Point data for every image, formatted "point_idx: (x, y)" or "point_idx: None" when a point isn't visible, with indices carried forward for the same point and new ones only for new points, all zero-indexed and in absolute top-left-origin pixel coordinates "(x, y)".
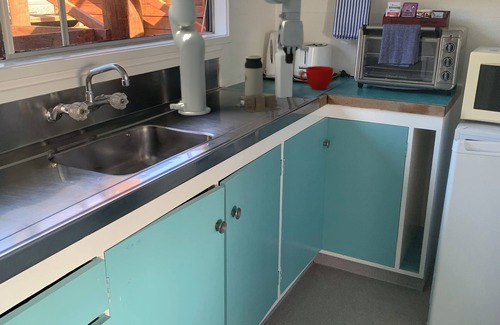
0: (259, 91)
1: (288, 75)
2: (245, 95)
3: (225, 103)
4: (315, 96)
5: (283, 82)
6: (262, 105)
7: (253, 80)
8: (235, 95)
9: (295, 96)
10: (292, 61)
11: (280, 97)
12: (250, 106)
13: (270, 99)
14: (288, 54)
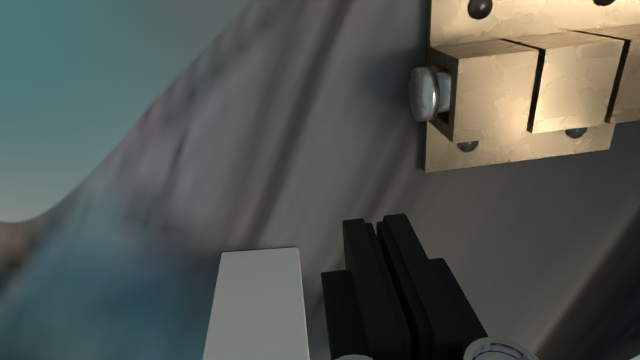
0: None
1: (238, 357)
2: None
3: (603, 220)
4: (70, 233)
5: (280, 314)
6: (530, 37)
7: None
8: None
9: (195, 264)
10: (353, 234)
11: (296, 249)
12: (615, 28)
13: (489, 49)
14: (462, 348)
